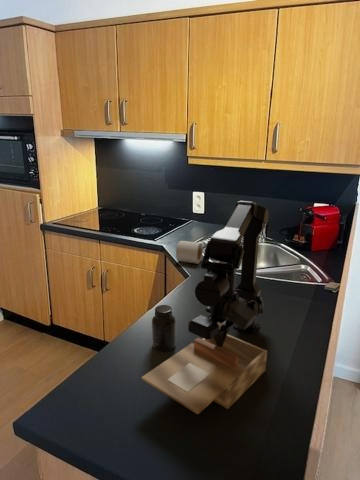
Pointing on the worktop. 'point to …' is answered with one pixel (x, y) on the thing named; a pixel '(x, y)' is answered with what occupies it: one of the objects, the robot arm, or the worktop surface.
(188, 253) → the toilet paper
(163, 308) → the supplement bottle
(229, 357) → the mailer lid
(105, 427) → the worktop surface
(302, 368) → the worktop surface
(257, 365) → the mailer box
